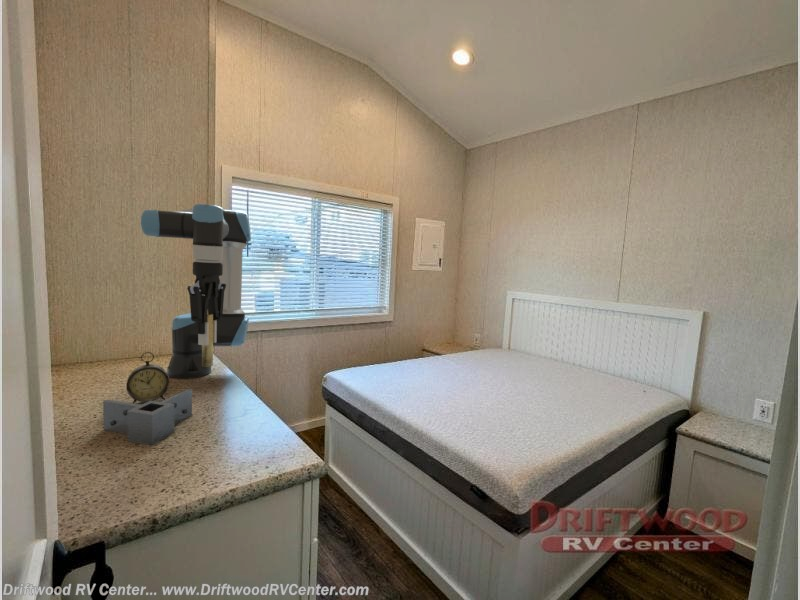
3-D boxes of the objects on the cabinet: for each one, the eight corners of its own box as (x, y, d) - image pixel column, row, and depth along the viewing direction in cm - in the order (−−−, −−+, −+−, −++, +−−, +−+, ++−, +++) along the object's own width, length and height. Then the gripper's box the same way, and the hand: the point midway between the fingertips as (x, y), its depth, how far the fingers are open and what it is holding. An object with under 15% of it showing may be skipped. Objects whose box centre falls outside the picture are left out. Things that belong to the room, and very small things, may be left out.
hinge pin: (206, 363, 111) (206, 313, 109) (215, 364, 110) (215, 314, 108) (199, 366, 108) (199, 314, 106) (208, 367, 107) (208, 315, 106)
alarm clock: (126, 408, 114) (125, 355, 112) (127, 401, 118) (126, 351, 117) (169, 402, 120) (168, 352, 118) (168, 396, 124) (168, 348, 122)
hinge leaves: (149, 408, 115) (148, 383, 114) (201, 416, 112) (201, 390, 111) (93, 435, 97) (92, 405, 96) (152, 445, 94) (152, 414, 94)
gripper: (214, 260, 114) (213, 336, 117) (174, 260, 98) (175, 348, 101) (236, 262, 113) (235, 339, 115) (200, 262, 97) (200, 351, 100)
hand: (207, 343), depth 108 cm, fingers closed on hinge pin, 3 cm apart
